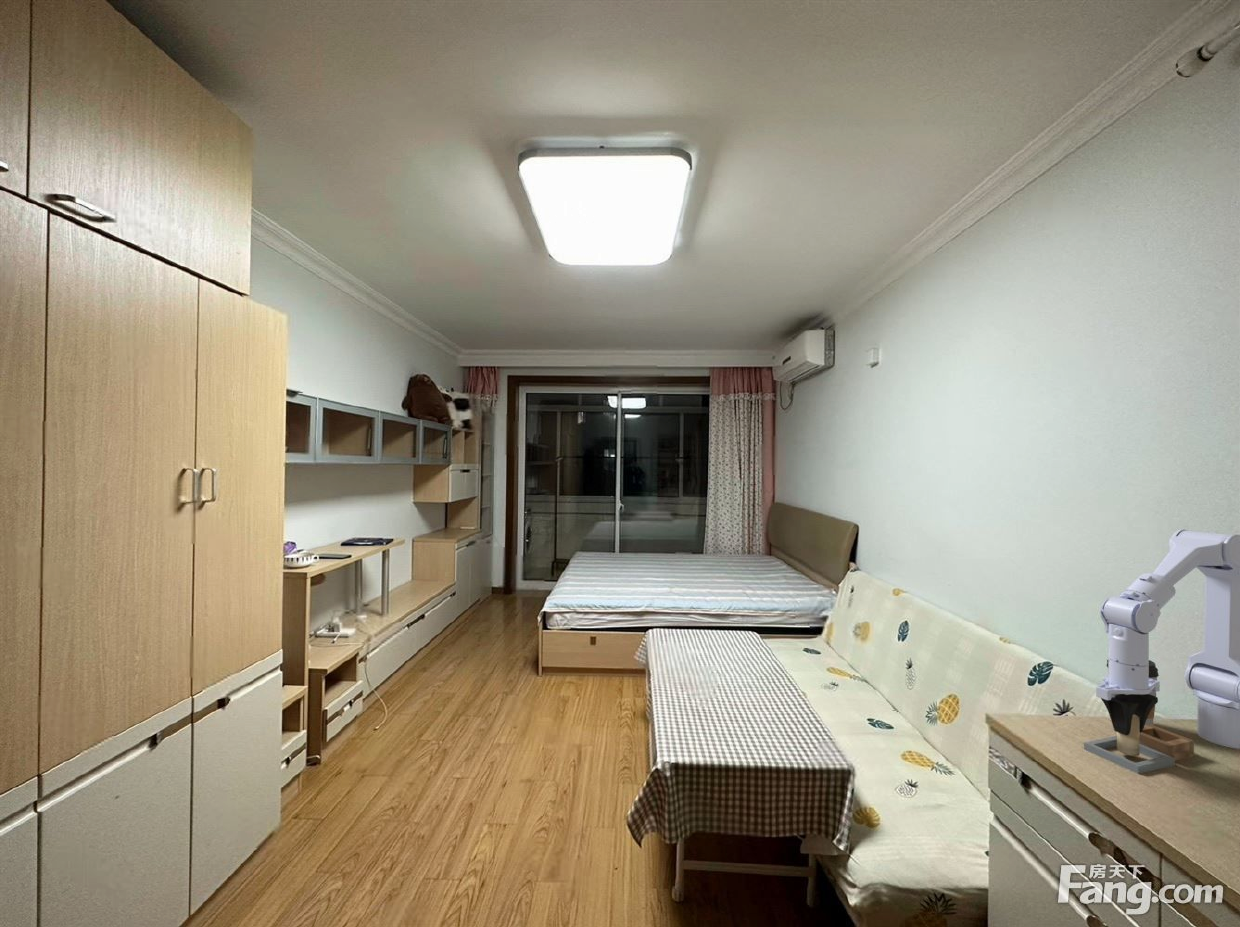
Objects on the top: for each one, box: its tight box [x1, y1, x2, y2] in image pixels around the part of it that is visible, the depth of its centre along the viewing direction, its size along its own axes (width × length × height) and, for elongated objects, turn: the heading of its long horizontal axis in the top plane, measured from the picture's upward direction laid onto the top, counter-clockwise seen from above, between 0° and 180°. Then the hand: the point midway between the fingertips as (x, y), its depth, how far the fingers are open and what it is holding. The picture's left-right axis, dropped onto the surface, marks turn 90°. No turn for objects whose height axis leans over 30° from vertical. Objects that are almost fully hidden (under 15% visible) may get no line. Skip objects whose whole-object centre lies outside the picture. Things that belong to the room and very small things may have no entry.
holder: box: [1139, 724, 1195, 762], centre depth 109 cm, size 7×7×4 cm
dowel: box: [1116, 714, 1140, 757], centre depth 106 cm, size 3×3×7 cm
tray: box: [1083, 735, 1176, 775], centre depth 106 cm, size 10×9×2 cm
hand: (1128, 731), depth 106 cm, fingers closed on dowel, 3 cm apart
